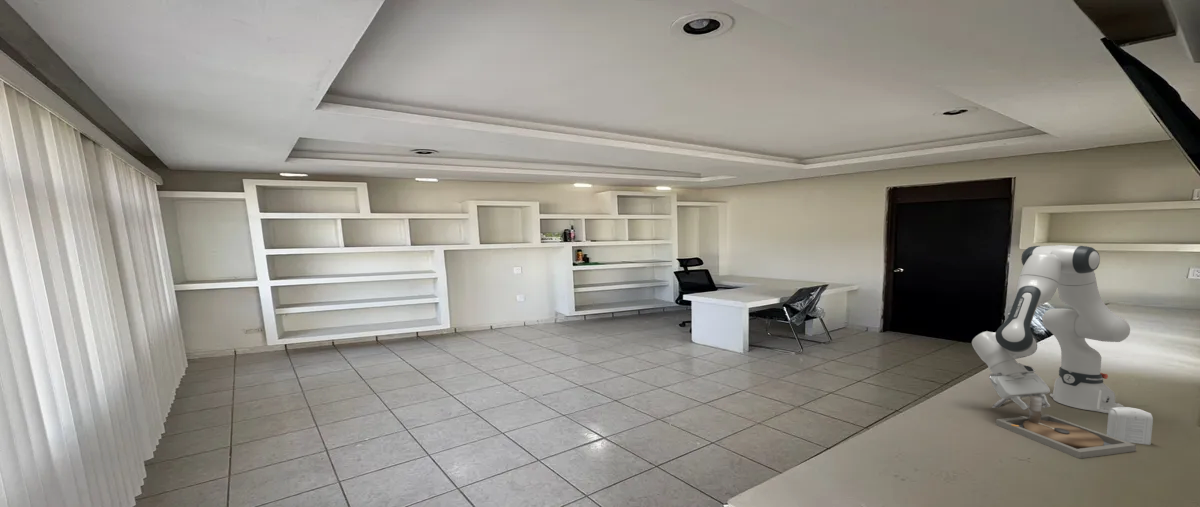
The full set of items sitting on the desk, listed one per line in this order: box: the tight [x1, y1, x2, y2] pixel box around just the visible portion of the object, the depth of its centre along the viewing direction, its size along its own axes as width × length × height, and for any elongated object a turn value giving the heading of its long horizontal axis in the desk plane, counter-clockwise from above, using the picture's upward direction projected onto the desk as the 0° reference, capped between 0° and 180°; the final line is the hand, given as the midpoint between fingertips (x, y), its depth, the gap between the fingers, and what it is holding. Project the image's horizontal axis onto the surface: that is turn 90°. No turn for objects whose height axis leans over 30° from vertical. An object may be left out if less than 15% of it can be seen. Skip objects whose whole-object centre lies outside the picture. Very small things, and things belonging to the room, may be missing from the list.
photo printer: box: [1106, 406, 1154, 446], centre depth 149 cm, size 10×4×12 cm, turn 72°
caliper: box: [991, 398, 1012, 409], centre depth 182 cm, size 20×1×6 cm, turn 118°
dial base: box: [995, 413, 1137, 459], centre depth 151 cm, size 24×24×3 cm
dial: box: [1023, 396, 1104, 449], centre depth 151 cm, size 19×19×11 cm
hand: (1037, 408), depth 158 cm, fingers open, 8 cm apart
